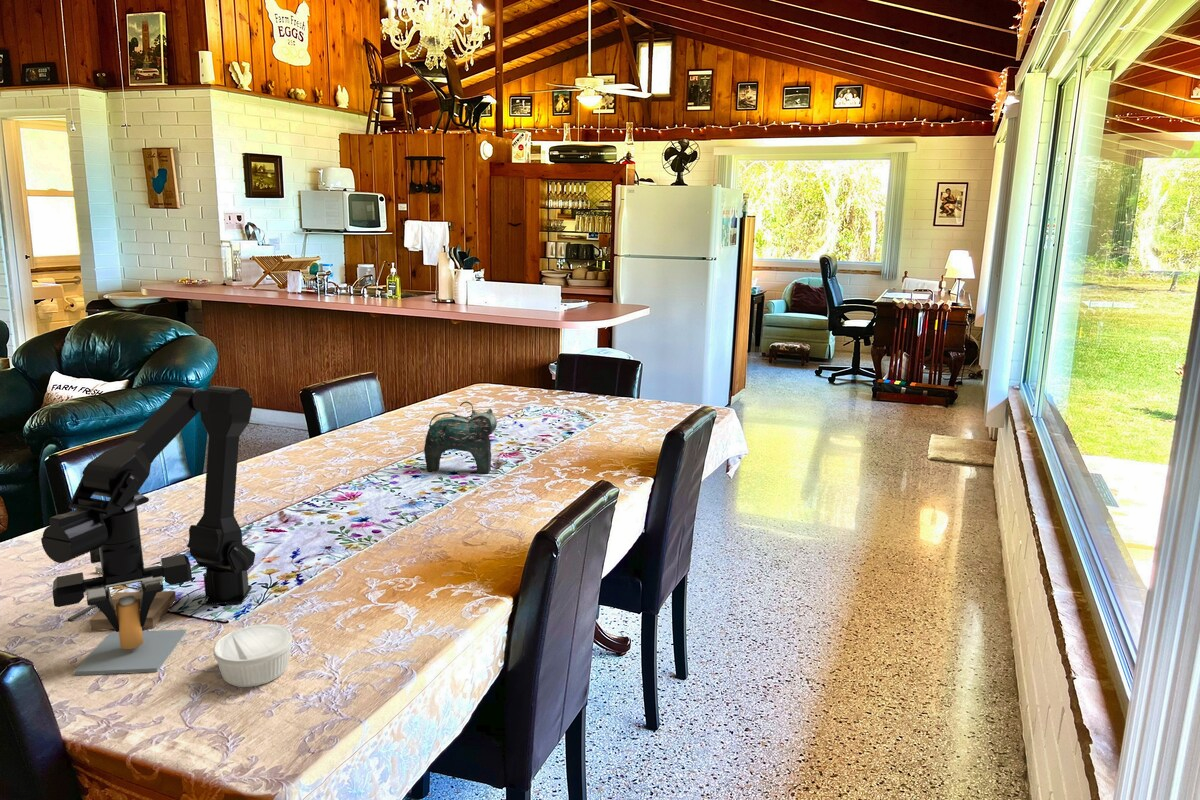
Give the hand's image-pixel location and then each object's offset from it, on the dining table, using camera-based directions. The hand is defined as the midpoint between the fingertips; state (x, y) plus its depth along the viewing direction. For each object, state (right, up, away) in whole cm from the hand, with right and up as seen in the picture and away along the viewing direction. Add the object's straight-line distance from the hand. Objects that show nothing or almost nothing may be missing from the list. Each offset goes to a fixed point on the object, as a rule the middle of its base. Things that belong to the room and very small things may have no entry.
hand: (130, 628), depth 130 cm
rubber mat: (0, -4, +1) cm, 4 cm away
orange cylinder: (0, -3, +1) cm, 3 cm away
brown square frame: (-7, -1, +13) cm, 15 cm away
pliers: (-16, +2, +29) cm, 33 cm away
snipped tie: (-16, -1, +14) cm, 21 cm away
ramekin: (+22, -6, -3) cm, 23 cm away
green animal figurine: (+37, +17, +96) cm, 104 cm away
